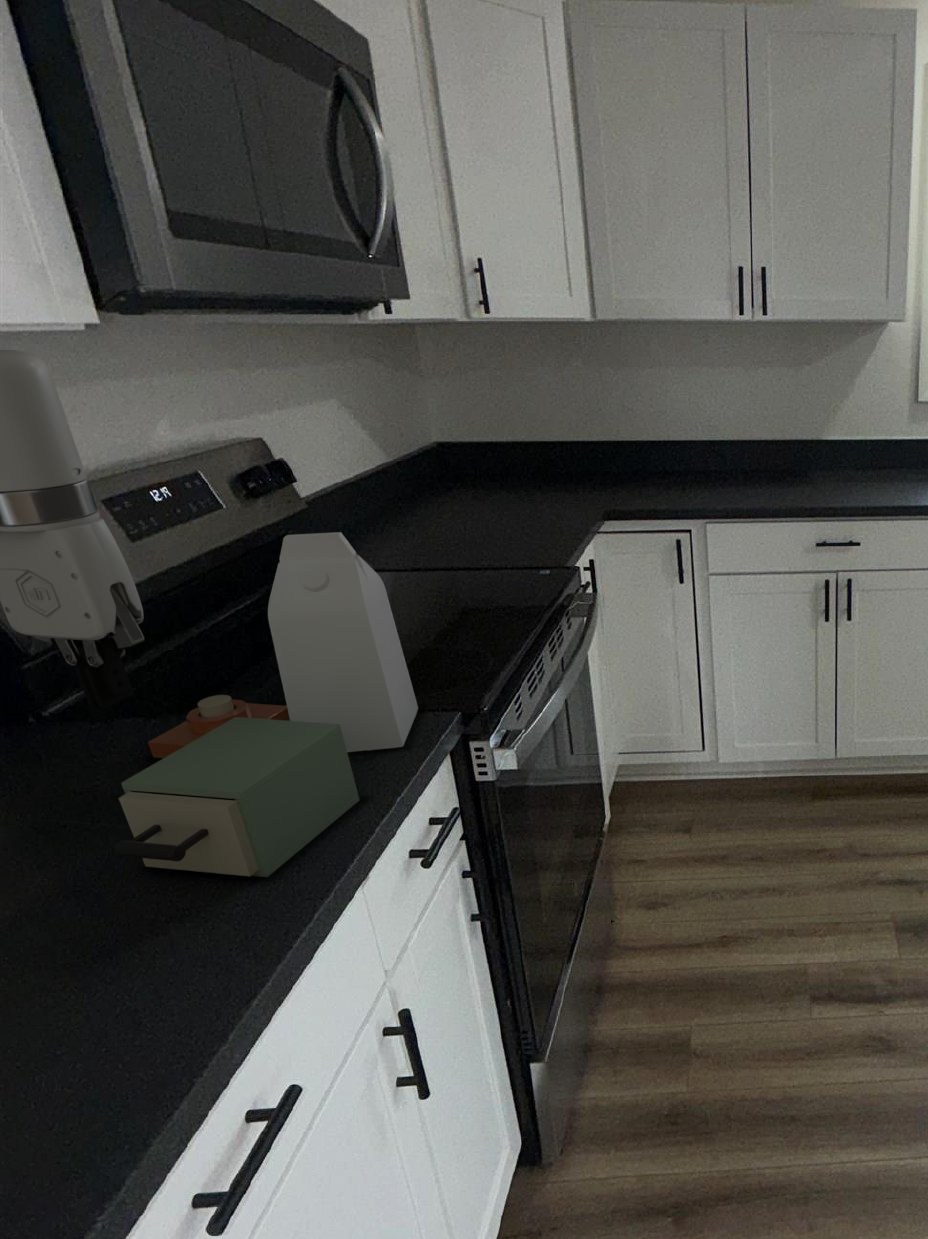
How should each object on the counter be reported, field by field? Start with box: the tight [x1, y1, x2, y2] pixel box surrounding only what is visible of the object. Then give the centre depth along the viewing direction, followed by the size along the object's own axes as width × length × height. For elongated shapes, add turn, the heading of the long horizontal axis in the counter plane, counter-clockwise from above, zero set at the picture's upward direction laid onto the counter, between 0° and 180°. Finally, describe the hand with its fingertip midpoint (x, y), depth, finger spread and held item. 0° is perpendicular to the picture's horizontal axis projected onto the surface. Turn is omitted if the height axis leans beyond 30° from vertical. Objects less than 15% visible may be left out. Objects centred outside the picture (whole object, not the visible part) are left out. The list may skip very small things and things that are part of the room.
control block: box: [147, 699, 290, 759], centre depth 112 cm, size 12×10×4 cm
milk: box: [267, 531, 419, 753], centre depth 109 cm, size 12×12×26 cm
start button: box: [197, 694, 235, 718], centre depth 111 cm, size 4×4×2 cm
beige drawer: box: [113, 792, 259, 877], centre depth 88 cm, size 18×11×8 cm, turn 172°
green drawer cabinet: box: [120, 717, 360, 878], centre depth 91 cm, size 15×13×10 cm
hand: (112, 700), depth 83 cm, fingers closed
